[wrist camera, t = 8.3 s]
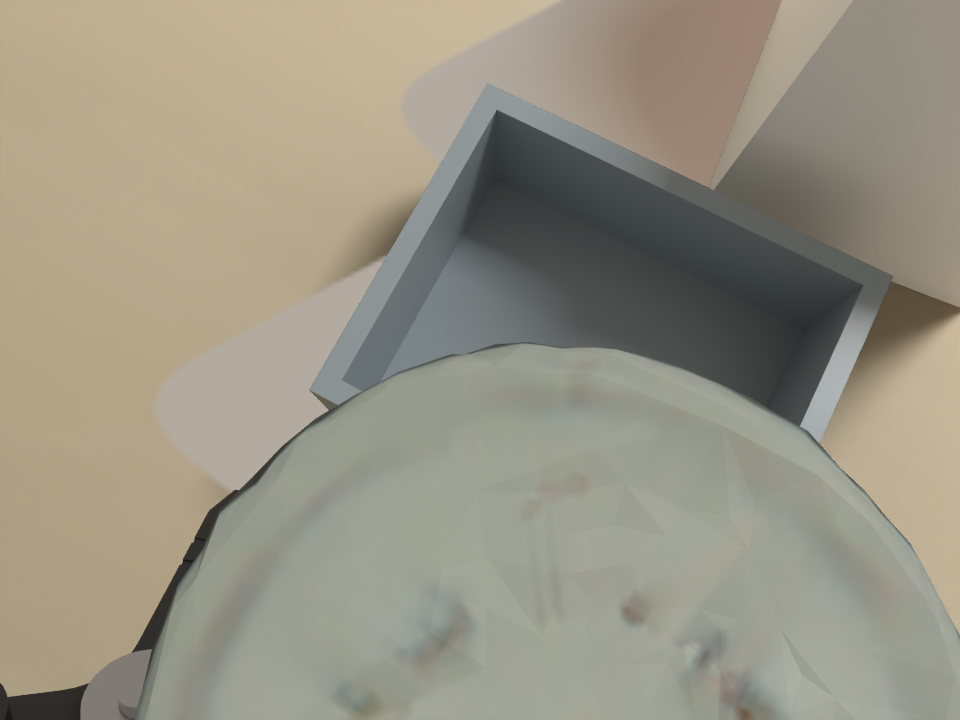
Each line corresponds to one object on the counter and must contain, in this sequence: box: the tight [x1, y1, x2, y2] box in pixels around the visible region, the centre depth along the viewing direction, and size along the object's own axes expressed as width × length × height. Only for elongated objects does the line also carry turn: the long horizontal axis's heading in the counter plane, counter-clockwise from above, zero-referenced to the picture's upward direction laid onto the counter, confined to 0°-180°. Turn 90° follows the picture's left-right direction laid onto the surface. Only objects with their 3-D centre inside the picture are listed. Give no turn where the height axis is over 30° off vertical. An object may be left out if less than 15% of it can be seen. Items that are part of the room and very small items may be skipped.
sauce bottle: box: [134, 342, 960, 720], centre depth 13 cm, size 7×6×20 cm
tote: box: [310, 83, 893, 443], centre depth 34 cm, size 16×13×7 cm
